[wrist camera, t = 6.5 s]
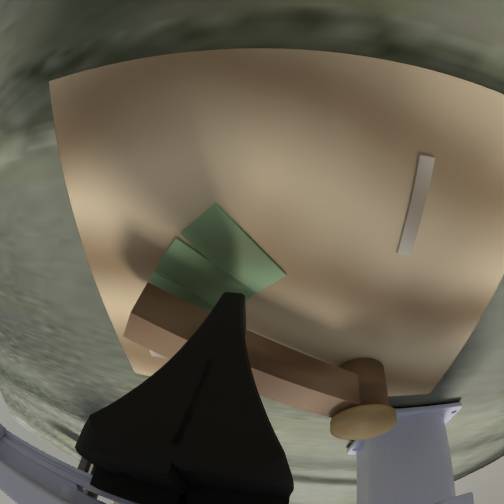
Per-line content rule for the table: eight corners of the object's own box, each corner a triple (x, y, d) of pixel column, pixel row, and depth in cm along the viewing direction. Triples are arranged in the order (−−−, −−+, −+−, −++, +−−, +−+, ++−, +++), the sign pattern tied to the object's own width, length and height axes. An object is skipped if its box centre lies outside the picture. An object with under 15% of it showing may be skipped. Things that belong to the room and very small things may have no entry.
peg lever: (400, 365, 15) (410, 419, 12) (360, 392, 17) (364, 443, 14) (161, 254, 13) (126, 313, 10) (142, 302, 15) (114, 357, 12)
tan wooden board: (427, 384, 18) (430, 395, 17) (138, 363, 20) (134, 374, 19) (540, 112, 7) (553, 117, 7) (60, 78, 10) (46, 81, 9)
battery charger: (103, 456, 43) (86, 505, 34) (85, 446, 42) (66, 496, 33) (114, 454, 40) (95, 509, 30) (94, 444, 39) (74, 500, 29)
